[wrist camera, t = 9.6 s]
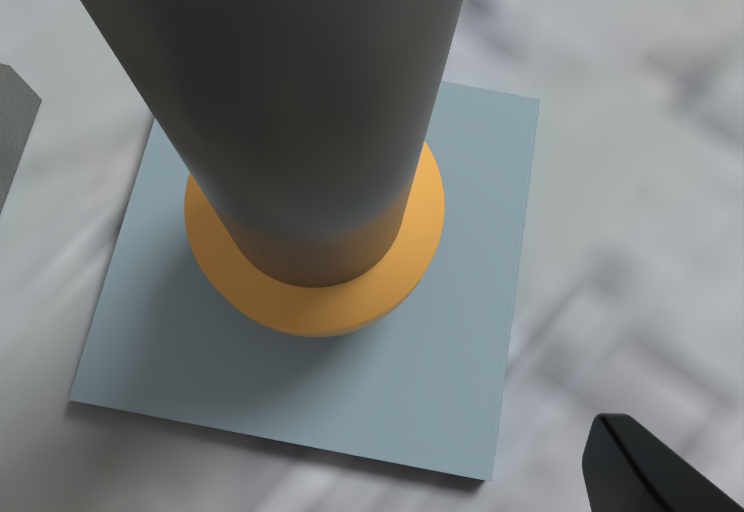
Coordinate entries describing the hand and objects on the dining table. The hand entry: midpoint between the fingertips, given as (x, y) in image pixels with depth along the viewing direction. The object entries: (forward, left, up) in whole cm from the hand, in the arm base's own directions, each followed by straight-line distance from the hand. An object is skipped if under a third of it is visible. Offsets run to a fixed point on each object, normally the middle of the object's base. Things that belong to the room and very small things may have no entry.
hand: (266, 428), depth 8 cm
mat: (+5, +1, -10) cm, 11 cm away
